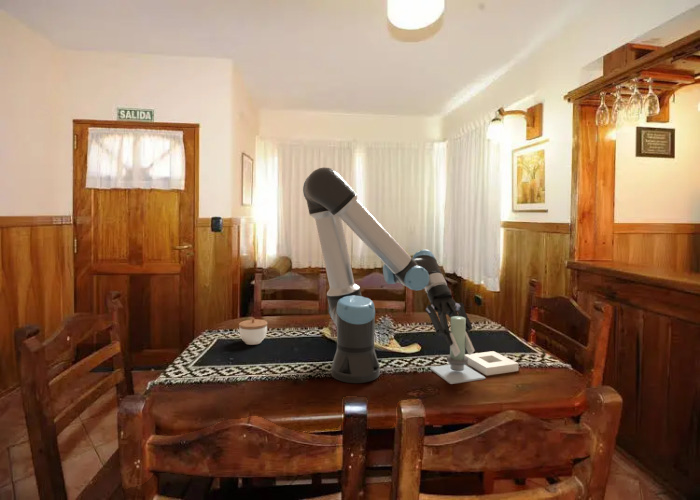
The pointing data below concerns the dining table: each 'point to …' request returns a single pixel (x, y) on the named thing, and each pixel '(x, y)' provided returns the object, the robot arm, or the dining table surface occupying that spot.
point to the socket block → (486, 367)
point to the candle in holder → (458, 343)
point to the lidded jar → (253, 331)
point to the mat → (457, 374)
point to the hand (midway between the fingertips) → (464, 353)
